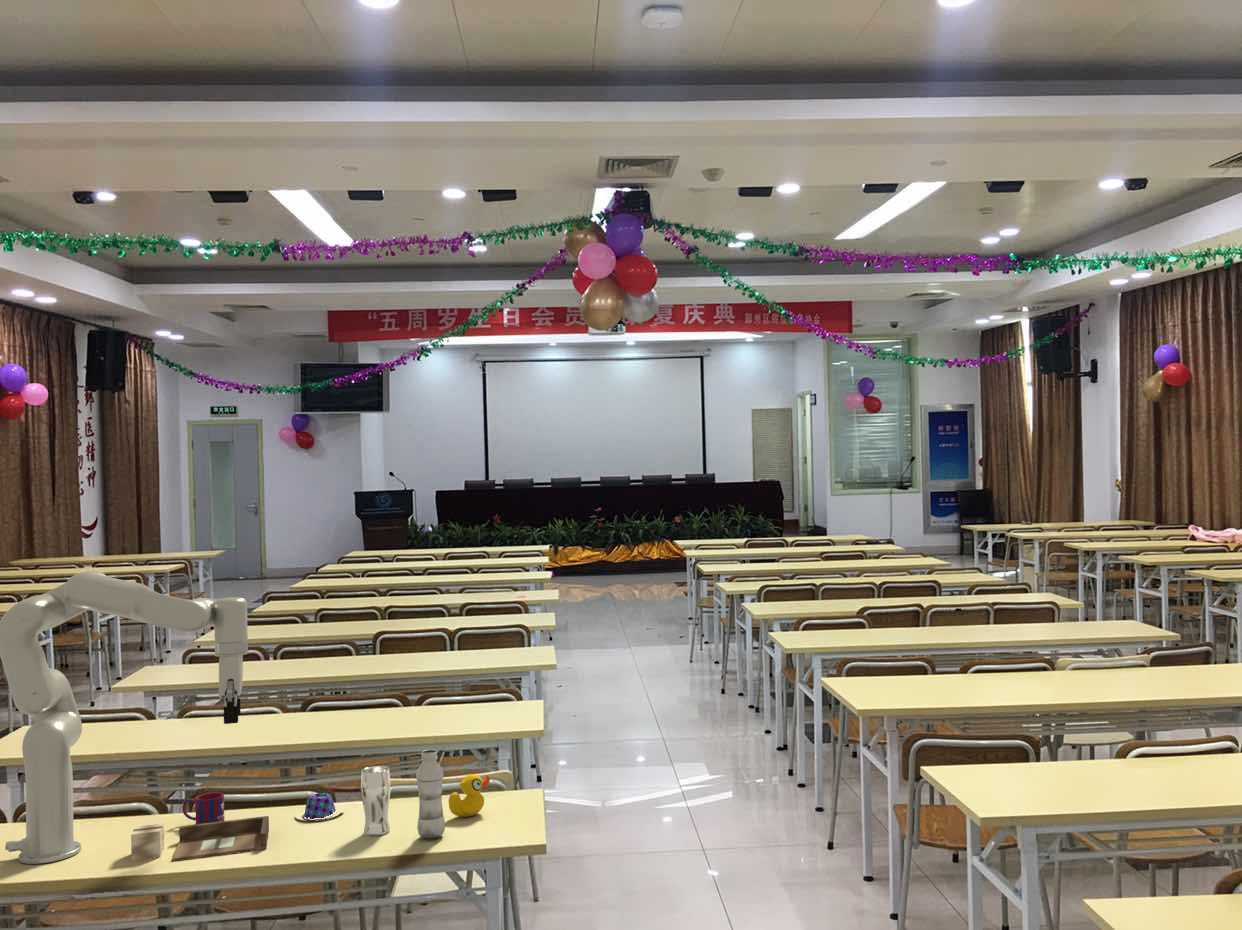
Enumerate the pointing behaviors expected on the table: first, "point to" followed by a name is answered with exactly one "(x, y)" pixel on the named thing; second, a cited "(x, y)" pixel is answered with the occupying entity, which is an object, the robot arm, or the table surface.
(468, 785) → the duckling
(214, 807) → the mug
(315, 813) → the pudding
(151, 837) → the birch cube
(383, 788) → the beer glass
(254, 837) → the wooden tray
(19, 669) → the robot arm
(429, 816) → the plastic bottle
